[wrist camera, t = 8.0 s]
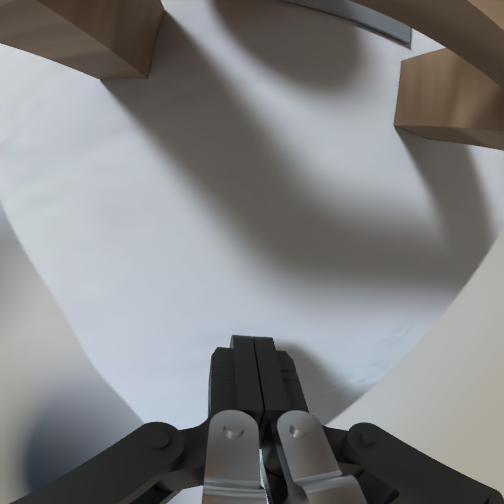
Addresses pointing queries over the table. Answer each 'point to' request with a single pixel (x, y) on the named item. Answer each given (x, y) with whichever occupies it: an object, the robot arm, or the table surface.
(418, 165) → the table surface
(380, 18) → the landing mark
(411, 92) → the bridge
